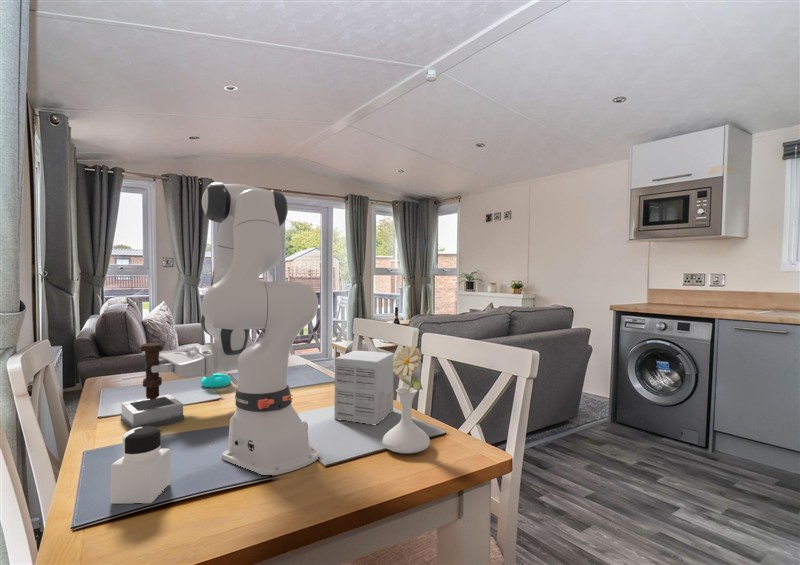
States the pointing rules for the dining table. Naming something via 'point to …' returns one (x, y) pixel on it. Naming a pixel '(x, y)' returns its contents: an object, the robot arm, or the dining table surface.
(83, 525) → the dining table surface
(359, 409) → the supplement box
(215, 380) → the donuts
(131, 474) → the medicine bottle
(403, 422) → the flower in vase
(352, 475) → the dining table surface
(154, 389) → the bolt
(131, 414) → the docking socket
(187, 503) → the dining table surface
